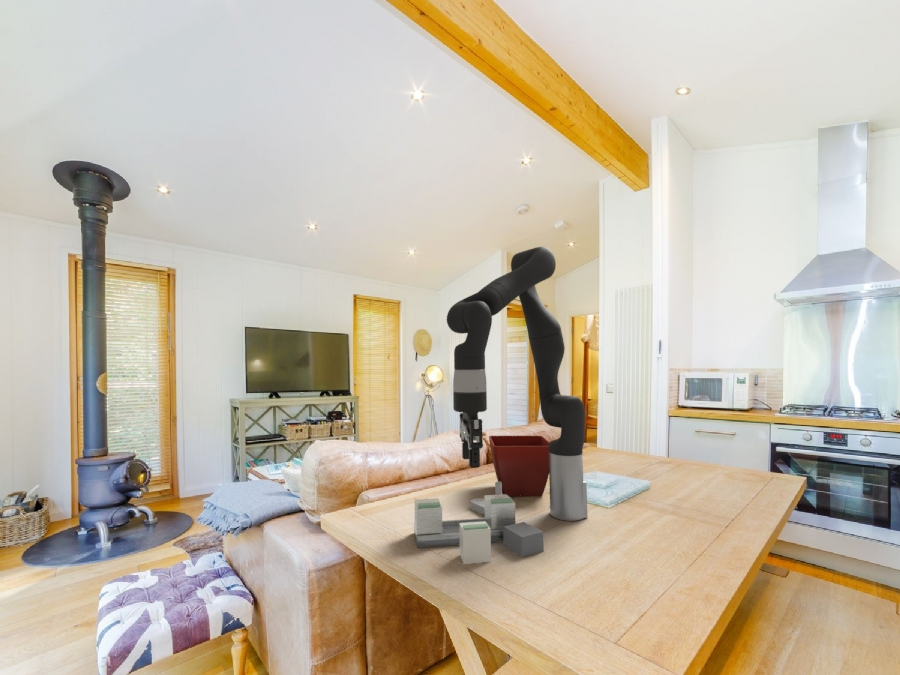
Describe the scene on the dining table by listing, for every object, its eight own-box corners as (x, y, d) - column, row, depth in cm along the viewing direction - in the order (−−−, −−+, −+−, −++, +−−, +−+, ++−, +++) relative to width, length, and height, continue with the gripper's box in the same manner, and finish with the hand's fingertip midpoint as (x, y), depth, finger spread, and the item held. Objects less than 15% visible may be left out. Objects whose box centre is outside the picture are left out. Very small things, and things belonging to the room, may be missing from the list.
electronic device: (480, 472, 129) (511, 482, 116) (482, 505, 128) (513, 519, 115) (466, 475, 126) (496, 485, 113) (467, 509, 125) (497, 523, 113)
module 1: (485, 553, 95) (485, 519, 95) (491, 562, 90) (490, 526, 91) (459, 555, 94) (459, 521, 94) (463, 564, 89) (463, 528, 90)
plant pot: (555, 500, 131) (554, 445, 132) (494, 500, 131) (493, 445, 132) (543, 483, 150) (541, 435, 151) (489, 483, 150) (488, 435, 151)
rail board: (506, 526, 110) (505, 490, 111) (517, 540, 101) (516, 501, 102) (414, 532, 106) (414, 496, 107) (417, 548, 98) (417, 507, 98)
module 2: (524, 541, 101) (523, 521, 102) (543, 552, 95) (543, 531, 96) (503, 546, 99) (503, 526, 99) (522, 558, 92) (522, 537, 93)
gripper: (493, 391, 89) (494, 470, 88) (479, 388, 103) (480, 455, 102) (458, 392, 88) (459, 471, 87) (449, 388, 102) (449, 456, 101)
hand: (470, 462), depth 94 cm, fingers open, 8 cm apart
